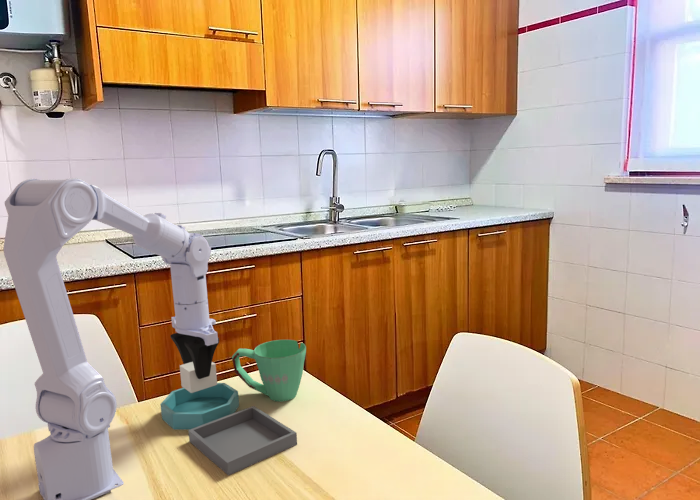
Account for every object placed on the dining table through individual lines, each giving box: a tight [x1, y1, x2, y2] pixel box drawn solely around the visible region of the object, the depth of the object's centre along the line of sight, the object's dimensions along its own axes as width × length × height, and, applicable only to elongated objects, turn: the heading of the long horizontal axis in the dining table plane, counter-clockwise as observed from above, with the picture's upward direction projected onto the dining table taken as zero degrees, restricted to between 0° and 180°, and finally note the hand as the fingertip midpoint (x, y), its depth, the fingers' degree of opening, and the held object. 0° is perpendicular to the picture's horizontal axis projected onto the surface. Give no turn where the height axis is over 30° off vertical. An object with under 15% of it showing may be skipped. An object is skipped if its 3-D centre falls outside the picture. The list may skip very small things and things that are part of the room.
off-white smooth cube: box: [179, 361, 218, 393], centre depth 99 cm, size 5×4×4 cm
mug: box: [231, 339, 307, 403], centre depth 105 cm, size 15×10×10 cm
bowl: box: [160, 382, 240, 431], centre depth 99 cm, size 13×13×3 cm
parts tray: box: [187, 405, 298, 477], centre depth 88 cm, size 12×13×2 cm
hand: (197, 373), depth 98 cm, fingers closed on off-white smooth cube, 4 cm apart
